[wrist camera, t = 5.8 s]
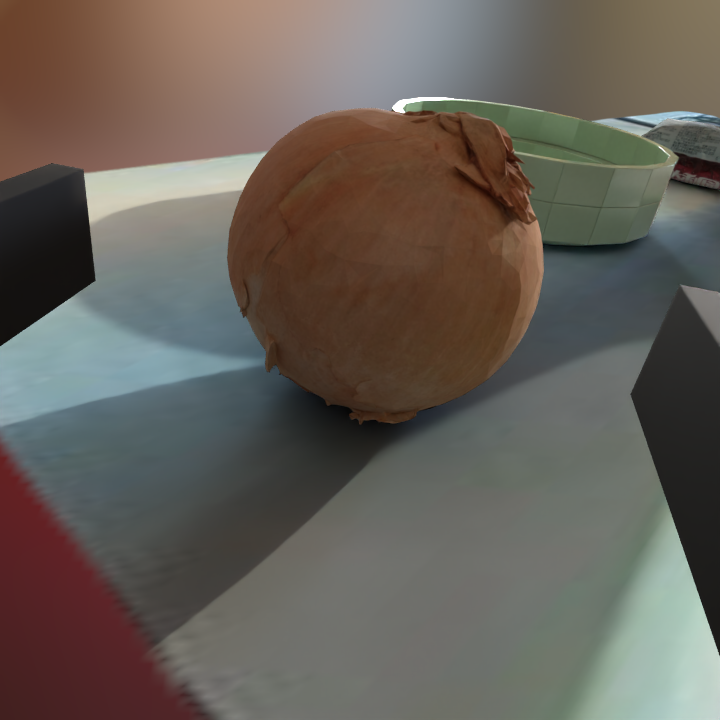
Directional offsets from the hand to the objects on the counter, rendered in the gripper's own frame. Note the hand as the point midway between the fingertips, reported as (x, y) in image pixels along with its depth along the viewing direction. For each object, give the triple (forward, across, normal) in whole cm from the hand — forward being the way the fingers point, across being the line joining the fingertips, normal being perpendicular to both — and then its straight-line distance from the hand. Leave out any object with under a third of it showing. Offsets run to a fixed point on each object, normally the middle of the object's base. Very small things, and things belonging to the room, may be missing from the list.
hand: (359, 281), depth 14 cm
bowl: (+31, +6, -6) cm, 32 cm away
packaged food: (+50, +23, -6) cm, 55 cm away
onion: (+5, 0, -6) cm, 8 cm away
